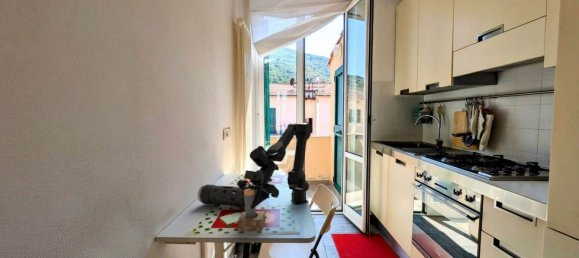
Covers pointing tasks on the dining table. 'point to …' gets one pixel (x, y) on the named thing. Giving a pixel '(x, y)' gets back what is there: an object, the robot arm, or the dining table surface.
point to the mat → (231, 218)
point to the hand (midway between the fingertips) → (247, 207)
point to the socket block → (251, 222)
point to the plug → (249, 203)
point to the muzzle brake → (222, 195)
